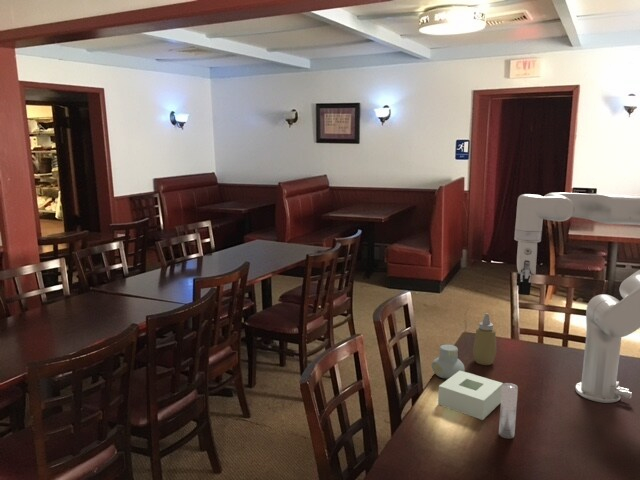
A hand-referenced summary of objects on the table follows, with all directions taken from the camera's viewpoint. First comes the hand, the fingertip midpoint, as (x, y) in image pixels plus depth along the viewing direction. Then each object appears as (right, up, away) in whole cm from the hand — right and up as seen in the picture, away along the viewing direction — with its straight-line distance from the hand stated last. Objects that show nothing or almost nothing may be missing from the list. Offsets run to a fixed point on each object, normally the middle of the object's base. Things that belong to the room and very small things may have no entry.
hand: (522, 290), depth 166 cm
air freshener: (-19, -30, +15) cm, 39 cm away
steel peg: (-12, -37, -20) cm, 44 cm away
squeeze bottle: (-4, -28, +26) cm, 39 cm away
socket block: (-17, -34, -3) cm, 38 cm away
